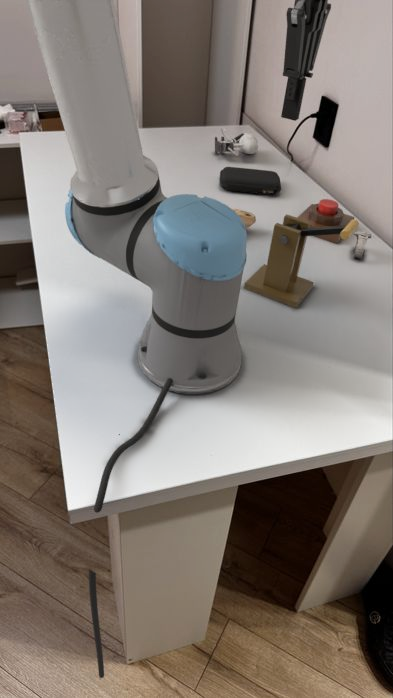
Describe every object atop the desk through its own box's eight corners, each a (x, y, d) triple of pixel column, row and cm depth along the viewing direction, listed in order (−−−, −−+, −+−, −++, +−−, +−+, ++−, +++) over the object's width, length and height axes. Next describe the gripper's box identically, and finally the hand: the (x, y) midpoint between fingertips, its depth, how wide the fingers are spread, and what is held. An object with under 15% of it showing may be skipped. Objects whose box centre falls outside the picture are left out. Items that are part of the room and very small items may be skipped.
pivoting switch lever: (359, 230, 85) (358, 215, 84) (349, 242, 81) (348, 227, 80) (290, 234, 92) (287, 221, 90) (278, 246, 88) (275, 232, 87)
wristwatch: (366, 249, 109) (373, 227, 106) (364, 264, 105) (371, 241, 101) (349, 246, 110) (355, 224, 107) (346, 260, 105) (353, 237, 102)
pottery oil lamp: (258, 239, 108) (252, 216, 102) (201, 251, 110) (192, 229, 104) (254, 207, 112) (248, 183, 106) (200, 219, 115) (191, 196, 109)
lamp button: (332, 218, 111) (334, 209, 110) (314, 212, 112) (316, 203, 111) (338, 211, 114) (341, 202, 112) (321, 206, 115) (323, 197, 114)
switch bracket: (312, 287, 97) (329, 223, 88) (295, 308, 91) (312, 242, 83) (263, 269, 100) (275, 206, 92) (244, 288, 95) (255, 222, 86)
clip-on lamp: (212, 150, 154) (216, 159, 138) (212, 126, 151) (216, 133, 135) (253, 149, 154) (261, 157, 138) (253, 125, 151) (262, 131, 135)
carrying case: (218, 193, 124) (280, 200, 124) (219, 181, 122) (283, 187, 122) (219, 175, 132) (278, 181, 133) (220, 163, 130) (280, 169, 131)
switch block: (336, 243, 110) (341, 226, 108) (292, 228, 114) (296, 211, 111) (351, 226, 117) (356, 209, 114) (309, 212, 120) (313, 196, 118)
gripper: (330, -47, 72) (295, 132, 87) (359, -48, 80) (322, 114, 96) (279, -54, 74) (254, 121, 89) (313, -54, 83) (285, 105, 98)
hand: (289, 117), depth 92 cm, fingers closed
